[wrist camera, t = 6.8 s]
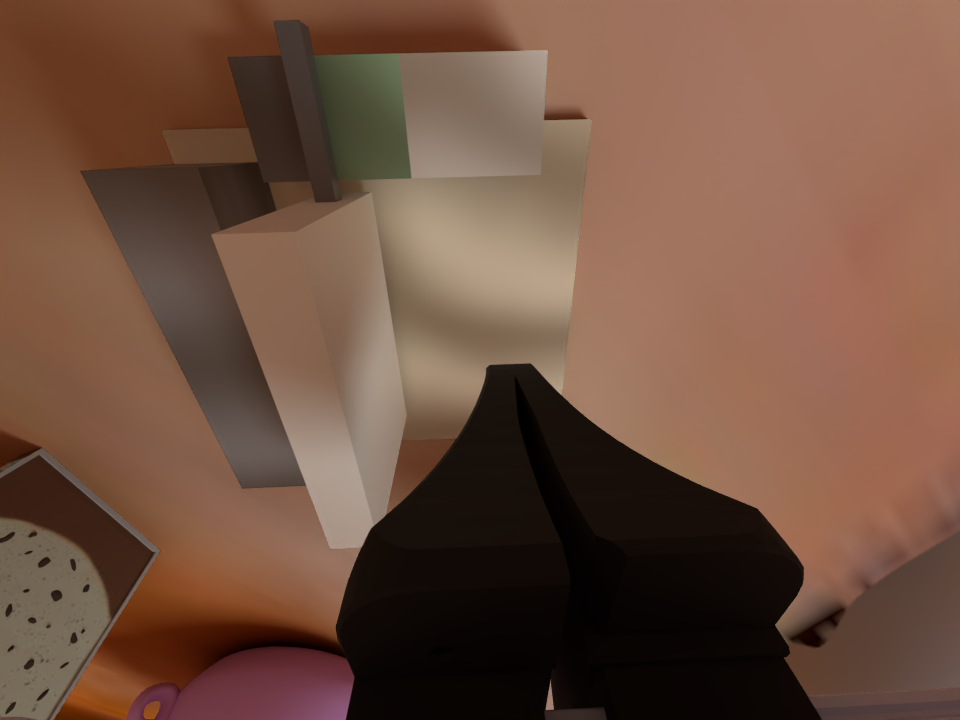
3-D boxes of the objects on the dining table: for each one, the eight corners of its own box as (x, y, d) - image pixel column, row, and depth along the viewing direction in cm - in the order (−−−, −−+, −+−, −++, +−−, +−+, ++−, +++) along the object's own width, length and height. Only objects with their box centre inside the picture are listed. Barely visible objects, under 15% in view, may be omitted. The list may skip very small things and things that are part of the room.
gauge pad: (406, 415, 18) (379, 546, 12) (373, 416, 18) (330, 548, 12) (348, 44, 11) (214, -72, 5) (294, 45, 11) (95, -69, 5)
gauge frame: (555, 429, 20) (574, 489, 16) (287, 440, 20) (250, 503, 16) (594, 65, 12) (646, 33, 9) (148, 74, 12) (16, 46, 8)
